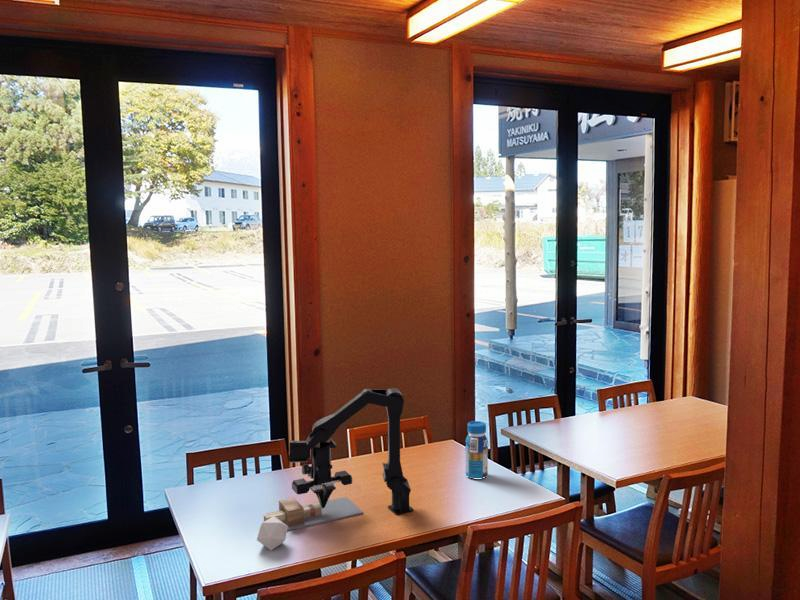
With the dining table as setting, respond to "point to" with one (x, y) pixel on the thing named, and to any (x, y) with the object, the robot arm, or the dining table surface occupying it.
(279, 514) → the pale wooden bar
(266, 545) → the die
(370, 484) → the dining table surface
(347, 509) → the felt mat
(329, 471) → the robot arm
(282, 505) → the tan block
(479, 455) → the beverage bottle
